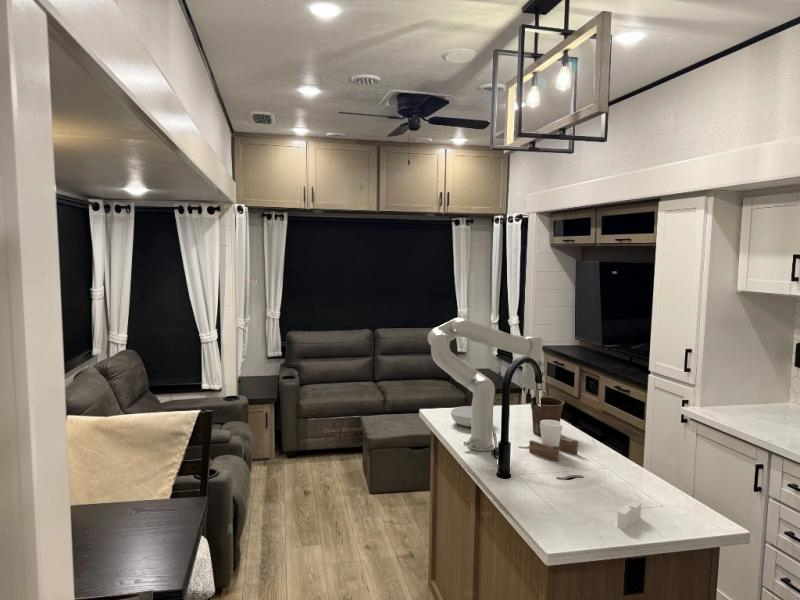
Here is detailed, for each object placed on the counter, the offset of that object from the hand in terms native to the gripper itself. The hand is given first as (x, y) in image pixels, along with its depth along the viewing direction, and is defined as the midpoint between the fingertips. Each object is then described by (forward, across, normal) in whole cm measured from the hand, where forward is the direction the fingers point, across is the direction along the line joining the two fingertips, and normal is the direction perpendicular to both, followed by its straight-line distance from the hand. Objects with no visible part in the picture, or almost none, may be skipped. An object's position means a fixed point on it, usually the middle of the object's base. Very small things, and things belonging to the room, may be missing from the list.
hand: (532, 403), depth 240 cm
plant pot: (+19, +7, -20) cm, 29 cm away
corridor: (+19, -12, 0) cm, 23 cm away
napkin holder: (+20, -66, +34) cm, 76 cm away
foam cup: (+19, -10, 0) cm, 22 cm away
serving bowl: (+20, +39, -2) cm, 44 cm away
